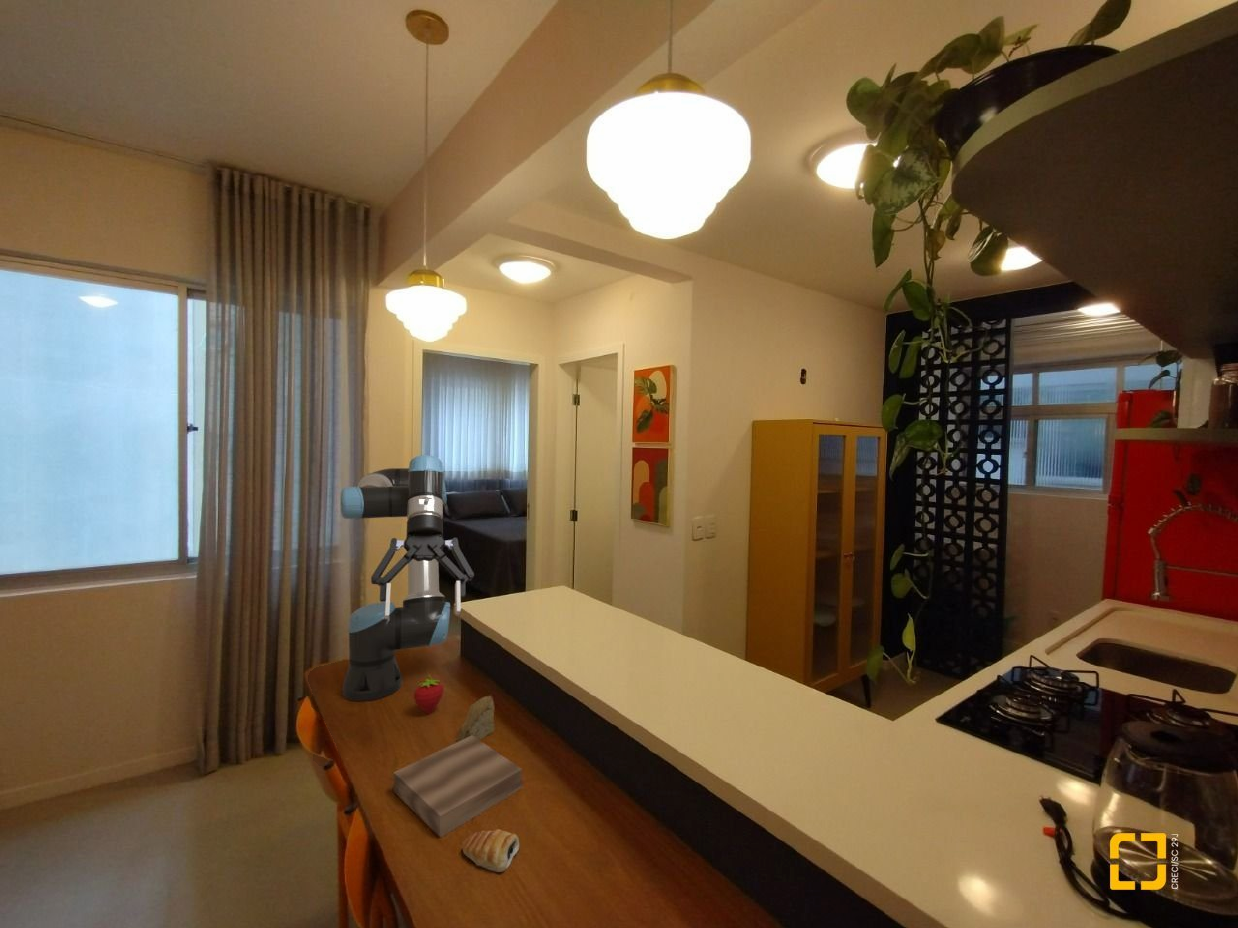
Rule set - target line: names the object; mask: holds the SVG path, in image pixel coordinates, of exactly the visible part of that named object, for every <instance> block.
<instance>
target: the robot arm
mask: <svg viewBox="0 0 1238 928" xmlns="http://www.w3.org/2000/svg"><path fill="white" fill-rule="evenodd" d="M408 466H409V467H408V468H407V467H406V468H405V467H403V468H402V467H401V468H400V467H397V468H395V467H393V468H390V467H389V468H384V469H380V470H376V471H373V472H370V473H368V474H366V475H365V476H363V477H362V478H361V479H360V481H358V484H357V486H353V487H344V488H342V489H341V493H340V513H341V517H342V518H343V519H344V520H345V519H346V520H362V519H379V518H383V519H384V518H406V519H407V521H406V537H405V540H401V539H400V540H399V539H397V538H396V537H393V538H391V539H390V542H389V543H390V544H389V549H388V550H387V551H386V552H385V554H384V555H383V558H382V559H381V561H380V563H379V564H378V566H377V567H376V569H375V571H374V572H373V574H372V575H371V576H370V582H371V584H372V585H378V586H379V588H380V589H379V602H374V603H371V604H367V605H364V606H362V607H360V608H359V607H358V608H357V609H356V610H354V611H353V612H352V613H351V614H350V616H349V621H348V622H349V623H348V629H347V632H348V633H349V634H348V635H349V636H348V638H349V639H348V641H349V643H348V644H349V645H348V646H349V648H348V650H349V653H348V654H349V657H348V658H349V660H348V661H349V664H348V665H349V666H348V669H347V671H346V674H345V678H344V679H343V684H342V695H343V697H344V698H345V699H347V700H350V701H354V702H367V701H368V702H369V701H374V700H378V699H382V698H385V697H387V696H390V695H392V694H394V693H395V692H397V691H398V690H400V688H401V687H402V684H403V680H402V679H403V677H402V672H401V670H400V668H399V665H398V662H397V660H396V651H397V650H398V651H399V650H405V649H414V648H421V647H431V646H435V645H440V644H443V643H444V642H445V641H446V640H447V637H448V631H449V626H450V624H449V623H450V618H451V617H450V615H451V603H450V602H448V601H445V599H446V598H445V595H444V594H443V593H442V592H440V581H439V580H440V573H439V572H440V571H439V564H440V565H441V566H442V567H443V568H444V569H445V570H446V571H447V572H448V573H449V574H450V576H452V577H453V578H454V579H455V580H456V581H455V584H454V609H455V613H454V614H455V616H459V615H460V613H461V610H462V609H461V607H462V606H461V605H462V604H461V602H462V601H461V599H464V598H465V596H466V593H467V592H466V591H467V589H466V583H467V582H470V581H472V580H473V578H474V576H475V573H474V571H473V570H472V568H471V566H470V565H469V562H468V561H467V559H466V557H465V556H464V553H463V552H462V551H461V548H460V546H459V540H458V538H457V537H453V538H452V539H448V540H445V539H444V525H443V524H444V521H443V518H444V517H443V516H444V514H443V513H444V511H443V510H444V509H443V507H444V506H445V504H447V497H448V496H447V490H446V483H445V477H444V467H443V462H442V459H440V458H438V457H437V456H435V455H429V454H427V455H425V454H421V455H417V456H415V457H413V458H412V459H411V460H410V462H409V465H408ZM402 547H403V548H404V550H405V551H406V553H405V554H404V555H403V556H402V557H401V558H400V559H399V560H398V561H397V562H396V563H395V565H393V567H391V569H389V570H388V571H387V573H386V574H384V573H385V570H386V569H387V567H388V566H389V564H390V562H392V559H393V558H394V556H395V554H396V552H397V551H400V549H401V548H402ZM445 547H446V548H447V549H448V551H451V552H452V555H453V557H454V559H455V560H456V562H457V564H458V565H459V568H460V569H461V570H460V569H459V568H458V567H457V566H456V565H455V564H454V563H453V561H451V559H449V557H447V555H446V553H445V552H444V551H443V549H444V548H445ZM407 565H408V566H407ZM406 566H407V570H408V571H407V572H408V573H407V575H408V576H407V578H408V580H407V581H408V582H407V583H408V584H407V585H408V586H407V587H408V590H407V591H408V593H407V595H406V597H405V598H403V600H402V606H401V607H396V605H395V603H393V602H392V601H391V587H392V583H391V582H392V580H393V579H394V578H396V576H397V575H399V573H400V572H401V571H402V570H403V569H405V567H406ZM383 574H384V576H382V575H383Z"/></svg>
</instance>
